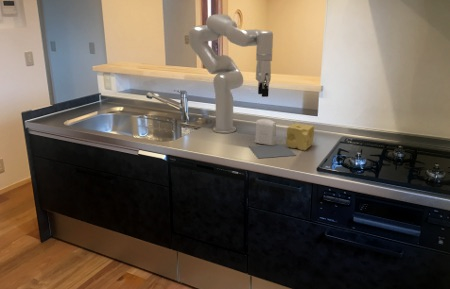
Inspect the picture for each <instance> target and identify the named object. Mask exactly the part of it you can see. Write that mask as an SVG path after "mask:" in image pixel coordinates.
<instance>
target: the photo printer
mask: <svg viewBox="0 0 450 289" xmlns="http://www.w3.org/2000/svg"><path fill="white" fill-rule="evenodd" d="M276 130H277V123H276V122H275V121H273V120H271V119H267V118H260V119H257V120H256V121H255V140H254V141H255V143H256V144H259V145H271V146H273V145H276V132H277V131H276Z"/></svg>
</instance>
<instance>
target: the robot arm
mask: <svg viewBox="0 0 450 289" xmlns="http://www.w3.org/2000/svg"><path fill="white" fill-rule="evenodd" d="M205 23H206V24H203V25H195V26H193V27H191V28H190V29H189V31H188V42H189V46H190V47H191V49H192V51H194V53H195V54H196V55H197V56H198V58H199V59H200V61H201V63H202V64H203V67H205V69H206V70H207V73H209V74H210V75H215V76H214V77H213V82H212V84H213V87H214V95H215V97H214V98H215V126H214V127H212V131H213V132H214V133H218V134H230V133H233V132H234V133H235V132H236V130H237V128H236V126H234V96H233V94H232V92H231V90H235V89H238V88H240V87H241V86H243V84H244V76H243V74H242V72H241V71H240V69H239V68H238V66H237V65H236V63H235V61H234V60H233V59H232V57H230V56H229V55H225V54H224V55H218V54H216V53H215V51H214V50H213V48H212V47H211V46H210V45H209V44H207V42H215V41H217V40H218V39H220V38H221V37H222V36H223V37H225V38H226V39H227V40H228V41H229V42H230V43H231V44H234V45H236V46H239V47H244V48H245V47H256V49H255V50H256V52H255V53H256V55H255V57H256V58H255V60H256V67H255V68H256V69H255V80H256V81H257V82H258V84H257V85H258V88H257V94H258V95H261V98H264V97H265V98H266V97H267V98H268V97H269V91H270V90H269V89H270V87H269V86H270V82H271V78H272V76H271V74H272V69H271V67H272V66H271V65H272V63H271V62H273V43H274V42H273V39H274V34H273V31H271V30H262V29H261V30H260V29H242V28H241V29H240V28H238V25H237V24H238V23H237V22H236V21H234V20H233V19H232V18H231V16H230V15H228V14H212V15H209V16H208V17H207V19H206V22H205Z"/></svg>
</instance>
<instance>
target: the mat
mask: <svg viewBox="0 0 450 289" xmlns="http://www.w3.org/2000/svg"><path fill="white" fill-rule="evenodd" d="M248 148H249V149H250V150H251V151H252V153H253V154H254V156H255V157H256V158H257V159H258V160H259V159H270V158H271V159H272V158H273V159H274V158H286V157H296V156H297V154H296V153H295V152H294V151H292V150H291V148H290V147H286V143H281V144H279V143H278V144H275V145H273V146H271V145H266V144H262V145H250V146H249V147H248Z"/></svg>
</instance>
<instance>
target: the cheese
mask: <svg viewBox="0 0 450 289" xmlns="http://www.w3.org/2000/svg"><path fill="white" fill-rule="evenodd" d="M314 135H315V126H314V125H312V124H310V125H309V124H301V123H296V122H293V124H291V125H290V126H288V127H287V129H286V137H285V138H286V139H285V145H286V147H288V148H290V149H291V148H292V149H298V150H301V151H307V149H309V148H310V147H311V146H312V145H313V141H314Z"/></svg>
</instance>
